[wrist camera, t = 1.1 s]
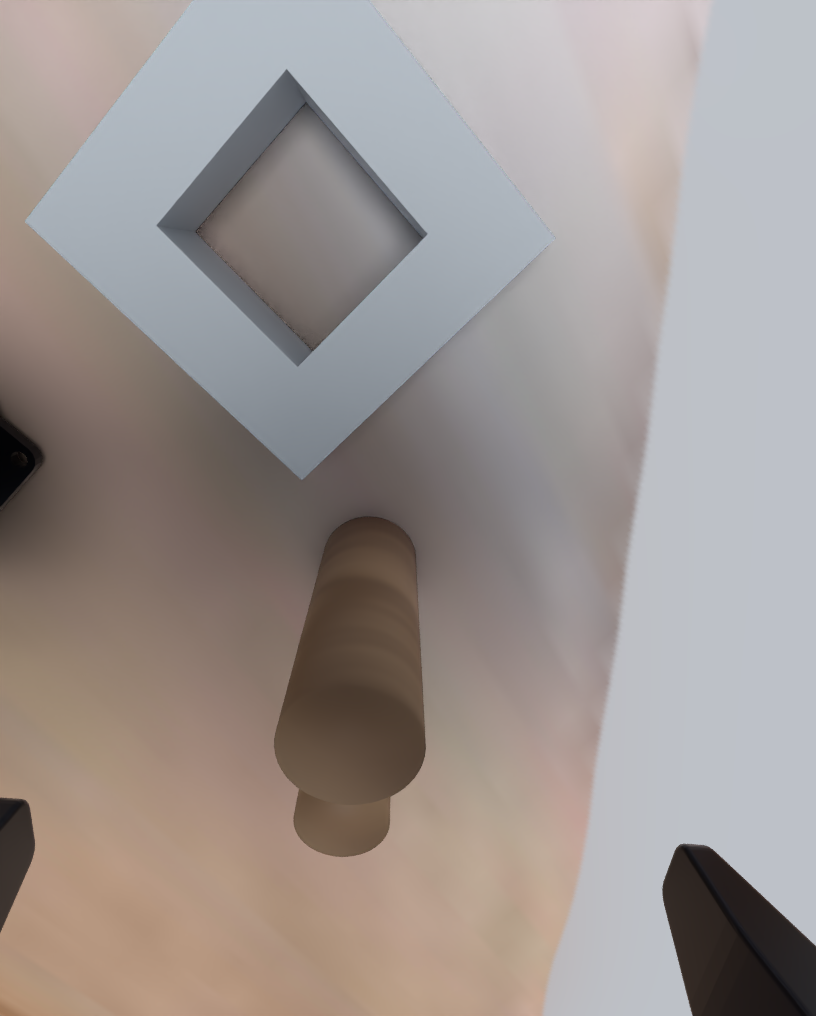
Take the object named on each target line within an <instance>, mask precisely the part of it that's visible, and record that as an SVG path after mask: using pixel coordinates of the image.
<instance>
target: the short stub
mask: <svg viewBox="0 0 816 1016" xmlns="http://www.w3.org/2000/svg"><path fill="white" fill-rule="evenodd" d="M389 825H390V797H388V798H386V799H383V800H380V801H377V802H373V803H368V804H361V805H343V804H335V803H330V802H327V801H323V800H320V799H317V798H315V797H313V796H311V795H309V794H307V793H305V792H304V791H302V790H301V789H299V792H298V797H297V802H296V807H295V813H294V827H295V830H296V832H297V834H298V836H299V837H300V839H301V840H302V841H303V842H304V843H305V844H306V845H308V846H309V847H310V848H312V849H314V850H316V851H318V852H320V853H323V854H326V855H330V856H338V857H348V856H355V855H359V854H363V853H365V852H368V851H370V850H372V849H373V848H375V847H376V846H377V845H379V844H380V843H381V842H382V841H383V839H384V838H385V836H386V835H387V833H388V830H389Z"/></svg>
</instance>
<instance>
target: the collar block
mask: <svg viewBox="0 0 816 1016" xmlns="http://www.w3.org/2000/svg"><path fill="white" fill-rule="evenodd" d="M305 103H307V104H308V105H309V106H310V107H311V108H312V110H313V111H314V112H315V113H316V114H317V115H318V117H319V118H320V119H321V120H322V121H323V122H324V123H325V125H326V126H327V127H328V128H329V129H330V130H331V132H332V133H333V134H334V135H335V136H336V137H337V139H338V140H339V141H340V142H341V143H342V144H343V146H344V147H345V148H346V149H347V150H348V151H349V153H350V154H351V155H352V156H353V157H354V158H355V160H356V161H357V162H358V163H359V164H360V165H361V167H362V168H363V169H364V170H365V171H366V172H367V174H368V175H369V176H370V177H371V178H372V179H373V181H374V182H375V183H376V184H377V185H378V186H379V188H380V189H381V190H382V191H383V192H384V193H385V195H386V196H387V197H388V198H389V199H390V200H391V202H392V203H393V204H394V205H395V206H396V207H397V209H398V210H399V211H400V212H401V213H402V214H403V216H404V217H405V218H406V219H407V220H408V221H409V223H410V224H411V225H412V226H413V227H414V228H415V230H416V231H417V232H418V233H419V234H420V235H421V237H422V238H423V240H422V241H421V242H420V243H419V244H418V245H417V246H416V247H415V248H414V249H413V250H412V251H411V252H410V253H409V254H408V255H407V256H406V257H405V258H404V259H403V260H402V261H401V262H400V263H399V264H398V265H397V266H396V267H395V268H394V269H393V270H392V271H391V272H390V273H389V274H388V275H387V276H386V277H385V278H384V279H383V280H382V281H381V282H380V283H379V284H378V286H377V287H376V288H375V289H374V290H373V291H372V292H371V293H370V294H369V295H368V296H367V297H366V298H365V299H364V300H363V301H362V302H361V303H360V304H359V305H358V306H357V307H356V308H355V309H354V310H353V311H352V312H351V313H350V314H349V315H348V316H347V317H346V318H345V319H344V320H343V321H342V322H341V323H340V324H339V325H338V326H337V327H336V328H335V329H334V330H333V331H332V332H331V334H330V335H329V336H328V337H327V338H326V339H325V340H324V341H323V342H322V343H321V344H320V345H319V346H318V347H317V348H316V349H315V350H314V351H312V350H311V349H310V348H309V347H308V346H307V345H306V344H305V343H304V342H303V341H302V340H301V339H300V338H299V337H298V336H297V335H296V334H295V333H294V332H293V331H292V330H291V329H290V328H289V327H288V326H287V325H286V324H285V323H284V322H283V321H282V320H281V319H280V318H279V317H278V316H277V315H276V314H275V313H274V312H273V311H272V310H271V309H270V308H269V307H268V306H267V305H266V304H265V303H264V302H263V301H262V299H261V298H260V297H259V296H258V295H257V294H256V293H255V292H254V291H253V290H252V289H251V288H250V287H249V286H248V285H247V284H246V283H245V282H244V281H243V280H242V279H241V278H240V277H239V276H238V275H237V274H236V273H235V272H234V271H233V270H232V269H231V268H230V267H229V266H228V265H227V264H226V263H225V262H224V261H223V260H222V259H221V258H220V257H219V256H218V255H217V254H216V253H215V252H214V251H213V250H212V249H211V248H210V247H209V246H208V244H207V243H206V242H205V241H204V240H203V239H202V238H201V237H200V236H199V235H198V234H197V233H196V232H195V231H196V230H197V229H198V228H199V226H200V225H201V224H202V223H203V222H204V221H205V219H206V218H207V217H208V216H209V215H210V214H211V212H212V211H213V210H214V209H215V208H216V207H217V205H218V204H219V203H220V202H221V201H222V200H223V198H224V197H225V196H226V195H227V194H228V193H229V191H230V190H231V189H232V188H233V187H234V186H235V184H236V183H237V182H238V181H239V180H240V179H241V177H242V176H243V175H244V174H245V173H246V172H247V170H248V169H249V168H250V167H251V166H252V165H253V163H254V162H255V161H256V160H257V159H258V158H259V156H260V155H261V154H262V153H263V152H264V151H265V149H266V148H267V147H268V146H269V145H270V144H271V142H272V141H273V140H274V139H275V138H276V136H277V135H278V134H279V133H280V132H281V131H282V129H283V128H284V127H285V126H286V125H287V124H288V122H289V121H290V120H291V119H292V118H293V117H294V115H295V114H296V113H297V112H298V111H299V110H300V108H301V107H302V106H303V105H304V104H305ZM25 222H26V223H27V224H28V225H29V226H30V227H31V228H32V229H33V230H34V231H35V232H36V233H37V234H39V235H40V236H41V237H42V238H43V239H44V240H45V241H46V242H47V243H48V244H49V245H50V246H51V247H52V248H54V249H55V250H56V251H57V252H58V253H59V254H60V255H61V256H62V257H63V258H64V259H65V260H66V261H67V262H68V263H70V264H71V265H72V266H73V267H74V268H75V269H76V270H77V271H78V272H79V273H80V274H81V275H82V276H83V277H85V278H86V279H87V280H88V281H89V282H90V283H91V284H92V285H93V286H94V287H95V288H96V289H97V290H98V291H100V292H101V293H102V294H103V295H104V296H105V297H106V298H107V299H108V300H109V301H110V302H111V303H112V304H113V305H115V306H116V307H117V308H118V309H119V310H120V311H121V312H122V313H123V314H124V315H125V316H126V317H127V318H128V319H130V320H131V321H132V322H133V323H134V324H135V325H136V326H137V327H138V328H139V329H140V330H141V331H142V332H143V333H145V334H146V335H147V336H148V337H149V338H150V339H151V340H152V341H153V342H154V343H155V344H156V345H157V346H158V347H159V348H161V349H162V350H163V351H164V352H165V353H166V354H167V355H168V356H169V357H170V358H171V359H172V360H173V361H174V362H176V363H177V364H178V365H179V366H180V367H181V368H182V369H183V370H184V371H185V372H186V373H187V374H188V375H189V376H191V377H192V378H193V379H194V380H195V381H196V382H197V383H198V384H199V385H200V386H201V387H202V388H203V389H204V390H206V391H207V392H208V393H209V394H210V395H211V396H212V397H213V398H214V399H215V400H216V401H217V402H218V403H219V404H221V405H222V406H223V407H224V408H225V409H226V410H227V411H228V412H229V413H230V414H231V415H232V416H233V417H234V418H235V419H237V420H238V421H239V422H240V423H241V424H242V425H243V426H244V427H245V428H246V429H247V430H248V431H249V432H250V433H252V434H253V435H254V436H255V437H256V438H257V439H258V440H259V441H260V442H261V443H262V444H263V445H264V446H265V447H267V448H268V449H269V450H270V451H271V452H272V453H273V454H274V455H275V456H276V457H277V458H278V459H279V460H280V461H282V462H283V463H284V464H285V465H286V466H287V467H288V468H289V469H290V470H291V471H292V472H293V473H294V474H295V475H297V476H298V477H299V478H300V479H301V480H303V479H304V478H305V477H306V476H307V475H308V474H309V473H310V472H311V471H312V470H313V469H314V468H315V467H316V466H318V465H319V464H320V463H321V462H322V461H323V460H324V459H325V458H326V457H327V456H328V455H329V454H330V453H331V452H332V451H333V450H334V449H335V448H336V447H337V446H339V445H340V444H341V443H342V442H343V441H344V440H345V439H346V438H347V437H348V436H349V435H350V434H351V433H352V432H353V431H354V430H355V429H356V428H357V427H358V426H359V425H361V424H362V423H363V422H364V421H365V420H366V419H367V418H368V417H369V416H370V415H371V414H372V413H373V412H374V411H375V410H376V409H377V408H378V407H379V406H380V405H382V404H383V403H384V402H385V401H386V400H387V399H388V398H389V397H390V396H391V395H392V394H393V393H394V392H395V391H396V390H397V389H398V388H399V387H400V386H401V385H402V384H404V383H405V382H406V381H407V380H408V379H409V378H410V377H411V376H412V375H413V374H414V373H415V372H416V371H417V370H418V369H419V368H420V367H421V366H422V365H423V364H424V363H426V362H427V361H428V360H429V359H430V358H431V357H432V356H433V355H434V354H435V353H436V352H437V351H438V350H439V349H440V348H441V347H442V346H443V345H444V344H445V343H447V342H448V341H449V340H450V339H451V338H452V337H453V336H454V335H455V334H456V333H457V332H458V331H459V330H460V329H461V328H462V327H463V326H464V325H465V324H466V323H467V322H469V321H470V320H471V319H472V318H473V317H474V316H475V315H476V314H477V313H478V312H479V311H480V310H481V309H482V308H483V307H484V306H485V305H486V304H487V303H488V302H490V301H491V300H492V299H493V298H494V297H495V296H496V295H497V294H498V293H499V292H500V291H501V290H502V289H503V288H504V287H505V286H506V285H507V284H508V283H509V282H510V281H512V280H513V279H514V278H515V277H516V276H517V275H518V274H519V273H520V272H521V271H522V270H523V269H524V268H525V267H526V266H527V265H528V264H529V263H530V262H531V261H533V260H534V259H535V258H536V257H537V256H538V255H539V254H540V253H541V252H542V251H543V250H544V249H545V248H546V247H547V246H548V245H549V244H550V243H551V242H552V241H553V240H555V239H556V237H555V236H554V235H553V234H552V232H551V231H550V230H549V229H548V227H547V226H546V225H545V223H544V222H543V221H542V220H541V218H540V217H539V216H538V215H537V213H536V212H535V211H534V209H533V208H532V207H531V206H530V204H529V203H528V202H527V201H526V199H525V198H524V197H523V195H522V194H521V193H520V192H519V190H518V189H517V188H516V186H515V185H514V184H513V183H512V181H511V180H510V179H509V178H508V176H507V175H506V174H505V172H504V171H503V170H502V169H501V167H500V166H499V165H498V164H497V162H496V161H495V160H494V158H493V157H492V156H491V155H490V153H489V152H488V151H487V149H486V148H485V147H484V146H483V144H482V143H481V142H480V141H479V139H478V138H477V137H476V135H475V134H474V133H473V132H472V130H471V129H470V128H469V127H468V125H467V124H466V123H465V121H464V120H463V119H462V118H461V116H460V115H459V114H458V112H457V111H456V110H455V109H454V107H453V106H452V105H451V104H450V102H449V101H448V100H447V98H446V97H445V96H444V95H443V93H442V92H441V91H440V90H439V88H438V87H437V86H436V84H435V83H434V82H433V81H432V79H431V78H430V77H429V76H428V74H427V73H426V72H425V70H424V69H423V68H422V67H421V65H420V64H419V63H418V61H417V60H416V59H415V58H414V56H413V55H412V54H411V53H410V51H409V50H408V49H407V47H406V46H405V45H404V44H403V42H402V41H401V40H400V39H399V37H398V36H397V35H396V33H395V32H394V31H393V30H392V28H391V27H390V26H389V24H388V23H387V22H386V21H385V19H384V18H383V17H382V16H381V14H380V13H379V12H378V10H377V9H376V8H375V7H374V5H373V4H372V3H371V2H370V0H193V1H192V2H191V4H190V5H189V6H188V8H187V9H186V10H185V12H184V13H183V14H182V16H181V17H180V18H179V19H178V21H177V22H176V23H175V25H174V26H173V27H172V29H171V30H170V31H169V33H168V34H167V35H166V37H165V38H164V39H163V40H162V42H161V43H160V44H159V46H158V47H157V48H156V50H155V51H154V52H153V54H152V55H151V56H150V58H149V59H148V60H147V61H146V63H145V64H144V65H143V67H142V68H141V69H140V71H139V72H138V73H137V75H136V76H135V77H134V79H133V80H132V81H131V82H130V84H129V85H128V86H127V88H126V89H125V90H124V92H123V93H122V94H121V96H120V97H119V98H118V100H117V101H116V102H115V103H114V105H113V106H112V107H111V109H110V110H109V111H108V113H107V114H106V115H105V117H104V118H103V119H102V121H101V122H100V123H99V124H98V126H97V127H96V128H95V130H94V131H93V132H92V134H91V135H90V136H89V138H88V139H87V140H86V142H85V143H84V144H83V145H82V147H81V148H80V149H79V151H78V152H77V153H76V155H75V156H74V157H73V159H72V160H71V161H70V163H69V164H68V165H67V166H66V168H65V169H64V170H63V172H62V173H61V174H60V176H59V177H58V178H57V180H56V181H55V182H54V184H53V185H52V186H51V187H50V189H49V190H48V191H47V193H46V194H45V195H44V197H43V198H42V199H41V201H40V202H39V203H38V205H37V206H36V207H35V208H34V210H33V211H32V212H31V214H30V215H29V216H28V218H27V219H26V220H25Z"/></svg>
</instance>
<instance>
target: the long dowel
mask: <svg viewBox="0 0 816 1016" xmlns="http://www.w3.org/2000/svg"><path fill="white" fill-rule="evenodd" d="M274 749H275V755H276V758H277V761H278V764H279V766H280V768H281V770H282V771H283V773H284V774H285V775H286V777H287V778H288V779H289V780H290V781H291V782H292V783H293V784H294V785H295V786H297V787H298V788H299V789H301V790H302V791H304V792H305V793H307V794H309V795H311V796H313V797H315V798H317V799H320V800H323V801H327V802H330V803H335V804H343V805H361V804H368V803H373V802H377V801H380V800H383V799H386V798H388V797H390V796H392V795H394V794H396V793H397V792H399V791H401V790H402V789H403V788H405V787H406V786H407V785H408V784H409V783H410V782H411V781H412V780H413V779H414V778H415V776H416V775H417V773H418V772H419V770H420V768H421V766H422V764H423V760H424V757H425V750H426V744H425V724H424V705H423V686H422V667H421V648H420V629H419V610H418V591H417V572H416V554H415V549H414V546H413V544H412V542H411V540H410V538H409V537H408V535H407V534H406V533H405V532H404V531H403V530H402V529H401V528H400V527H399V526H397V525H396V524H394V523H392V522H390V521H388V520H385V519H382V518H377V517H361V518H356V519H353V520H350V521H348V522H346V523H344V524H342V525H341V526H340V527H338V528H337V529H336V530H335V531H334V532H333V533H332V535H331V536H330V537H329V539H328V541H327V543H326V546H325V549H324V553H323V556H322V560H321V564H320V568H319V571H318V575H317V579H316V583H315V586H314V590H313V594H312V598H311V601H310V605H309V609H308V613H307V616H306V620H305V624H304V628H303V631H302V635H301V639H300V643H299V646H298V650H297V654H296V658H295V661H294V665H293V669H292V673H291V676H290V680H289V684H288V687H287V691H286V695H285V699H284V702H283V706H282V710H281V714H280V717H279V721H278V725H277V729H276V733H275V738H274Z"/></svg>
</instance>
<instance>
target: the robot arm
mask: <svg viewBox="0 0 816 1016" xmlns="http://www.w3.org/2000/svg"><path fill="white" fill-rule="evenodd" d="M18 452H21V453H23V454H24V455H25V456H26V457H27V461H28V462H27V463H24V462H22V461H21V460H20V459H19V457H18ZM41 463H42V455H41V452H40V450H39V449H38V448H37V447H36V446H35V445H34V444H33V443H32V442H31V441H29V440H28V439H27V438H26V437H25V436H23V435H22V434H21V433H20V432H18V431H17V430H16V429H15V428H14V427H12V426H11V425H10V424H9V423H8V422H6V421H5V420H4V419H3V418H1V417H0V511H1V510H2V509H3V508H4V506H5V505H6V504H7V503H8V502H9V501H10V500H11V498H12V497H13V496H14V495H15V494H16V493H17V492H18V491H19V489H20V488H21V487H22V486H23V485H24V484H25V483H26V481H27V480H28V479H29V478H30V477H31V476H32V475H33V474H34V472H35V471H36V470H37V469H38V468H39V467H40V465H41ZM34 850H35V839H34V832H33V825H32V819H31V812H30V807H29V804H28V803H27V801H26V800H23V799H13V798H0V932H1V930H2V928H3V925H4V923H5V921H6V919H7V916H8V914H9V912H10V909H11V907H12V905H13V903H14V900H15V898H16V896H17V893H18V891H19V889H20V887H21V884H22V882H23V880H24V878H25V875H26V873H27V871H28V868H29V866H30V864H31V861H32V858H33V855H34ZM662 890H663V901H664V906H665V910H666V913H667V918H668V921H669V925H670V929H671V933H672V937H673V941H674V945H675V949H676V953H677V957H678V961H679V965H680V969H681V973H682V976H683V981H684V984H685V989H686V993H687V996H688V1000H689V1004H690V1008H691V1012H692V1015H693V1016H816V946H815V945H814V944H813V943H812V942H811V941H810V940H809V939H808V938H807V937H806V936H805V935H803V934H802V933H801V932H800V931H799V930H798V929H797V928H796V927H795V926H794V925H793V924H792V923H791V922H790V921H789V920H788V919H786V918H785V917H784V916H783V915H782V914H781V913H780V912H779V911H778V910H777V909H776V908H775V907H774V906H773V905H771V903H769V902H768V901H767V900H766V899H765V898H764V897H763V896H762V895H761V894H760V893H759V892H758V891H757V890H756V889H754V888H753V887H752V886H751V885H750V884H749V883H748V882H747V881H746V880H745V879H744V878H743V877H742V876H741V875H739V874H738V873H737V872H736V871H735V870H734V869H733V868H732V867H731V866H730V865H729V864H728V863H727V862H726V861H725V860H724V859H723V858H721V857H720V856H719V855H718V854H717V853H716V852H715V851H714V850H713V849H711V848H710V847H708V846H704V845H694V844H680V845H679V846H678V847H677V848H676V850H675V852H674V855H673V858H672V860H671V863H670V866H669V868H668V871H667V874H666V876H665V879H664V883H663V889H662Z"/></svg>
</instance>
